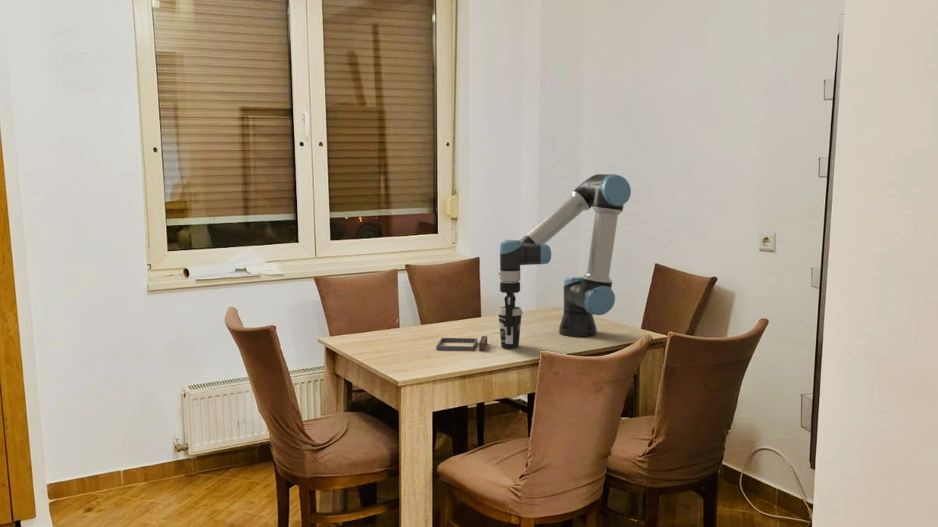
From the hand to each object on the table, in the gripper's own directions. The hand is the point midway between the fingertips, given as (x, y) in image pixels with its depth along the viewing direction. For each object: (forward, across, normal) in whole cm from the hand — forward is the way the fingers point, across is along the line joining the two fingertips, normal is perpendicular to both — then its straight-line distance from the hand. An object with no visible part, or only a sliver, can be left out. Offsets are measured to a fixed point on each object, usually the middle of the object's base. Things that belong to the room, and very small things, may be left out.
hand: (509, 340), depth 293 cm
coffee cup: (+3, 0, 0) cm, 3 cm away
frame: (+2, 0, -20) cm, 20 cm away
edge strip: (+2, +1, -10) cm, 10 cm away
